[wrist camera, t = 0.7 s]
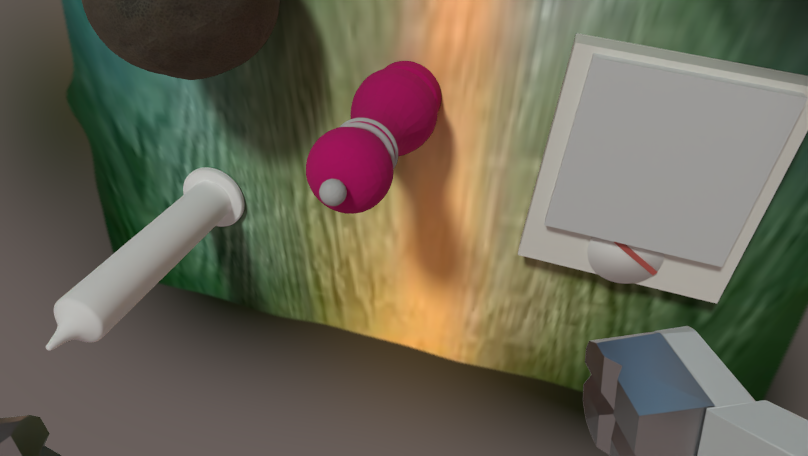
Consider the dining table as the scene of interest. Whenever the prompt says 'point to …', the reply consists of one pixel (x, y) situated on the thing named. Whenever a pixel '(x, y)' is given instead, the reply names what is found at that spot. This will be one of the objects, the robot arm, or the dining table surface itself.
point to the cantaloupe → (183, 33)
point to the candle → (147, 257)
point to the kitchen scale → (661, 164)
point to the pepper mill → (374, 137)
